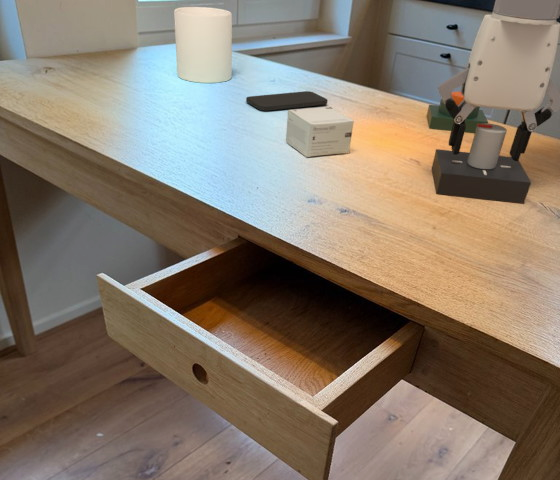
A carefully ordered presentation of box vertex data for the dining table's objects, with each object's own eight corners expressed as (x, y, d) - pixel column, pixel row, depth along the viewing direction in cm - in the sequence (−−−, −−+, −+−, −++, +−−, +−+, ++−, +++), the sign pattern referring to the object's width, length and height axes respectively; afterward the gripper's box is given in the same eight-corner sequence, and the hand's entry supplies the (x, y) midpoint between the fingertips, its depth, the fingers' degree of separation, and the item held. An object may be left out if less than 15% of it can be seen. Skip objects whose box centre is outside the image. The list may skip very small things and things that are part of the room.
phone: (243, 96, 108) (310, 90, 114) (243, 101, 109) (309, 95, 115) (261, 107, 103) (330, 100, 109) (261, 112, 104) (329, 105, 110)
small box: (306, 158, 86) (309, 123, 83) (284, 142, 92) (286, 108, 88) (350, 154, 89) (355, 119, 86) (326, 138, 95) (330, 105, 91)
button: (469, 103, 104) (472, 92, 103) (472, 108, 101) (474, 98, 100) (447, 100, 104) (450, 90, 103) (449, 106, 101) (452, 96, 100)
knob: (493, 161, 81) (505, 122, 78) (497, 170, 78) (510, 131, 75) (465, 158, 82) (475, 119, 78) (468, 167, 79) (479, 128, 75)
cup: (208, 67, 129) (206, 5, 121) (242, 78, 123) (243, 14, 115) (166, 74, 122) (162, 8, 114) (201, 85, 116) (199, 17, 108)
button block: (479, 122, 108) (485, 99, 105) (484, 134, 101) (491, 111, 99) (426, 116, 108) (431, 94, 106) (429, 129, 102) (434, 105, 100)
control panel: (511, 177, 85) (517, 156, 83) (523, 203, 78) (531, 181, 76) (431, 169, 86) (436, 147, 84) (436, 194, 79) (441, 171, 76)
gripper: (592, 8, 70) (541, 152, 81) (451, -4, 71) (420, 139, 83) (610, 17, 64) (553, 171, 76) (457, 3, 66) (423, 156, 77)
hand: (484, 153), depth 79 cm, fingers open, 7 cm apart
